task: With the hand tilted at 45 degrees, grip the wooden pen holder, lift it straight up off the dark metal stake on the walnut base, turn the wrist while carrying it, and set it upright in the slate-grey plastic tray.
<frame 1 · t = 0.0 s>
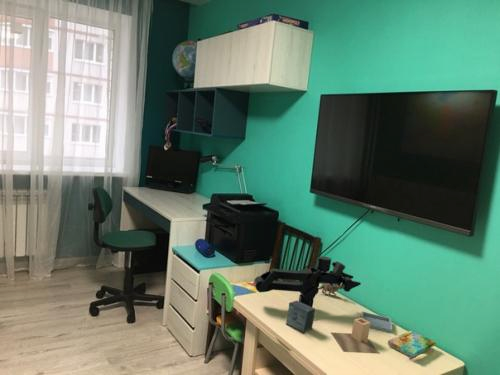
hand: (356, 280, 210), 17 cm above the table, tool horizontal, fingers open, 9 cm apart
small box: (298, 327, 185), on the table
wooden pen holder: (359, 338, 180), point 1 cm above the table, touching walnut stake base
dinosaur figurine: (328, 295, 231), on the table
grey tray: (375, 325, 198), on the table
walnut stake base: (353, 344, 175), on the table
puzzle game: (410, 350, 179), on the table
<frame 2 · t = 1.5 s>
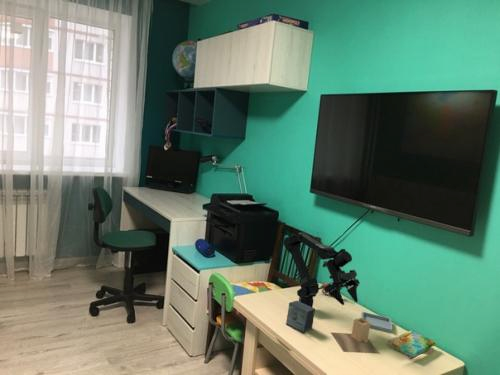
hand: (350, 303, 185), 14 cm above the table, tool tilted 45°, fingers open, 9 cm apart
nothing on the table moved.
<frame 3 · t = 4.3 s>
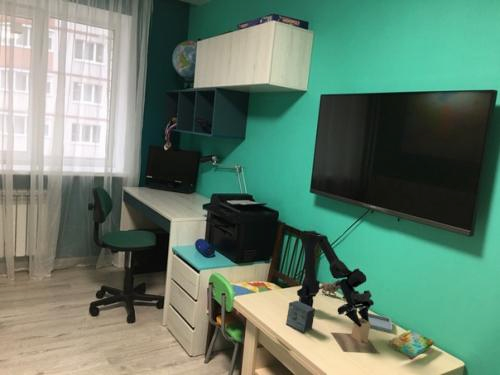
hand: (364, 325, 178), 8 cm above the table, tool tilted 45°, fingers closed on wooden pen holder, 5 cm apart
wooden pen holder: (359, 338, 180), point 1 cm above the table, touching gripper, walnut stake base
everything else where it was.
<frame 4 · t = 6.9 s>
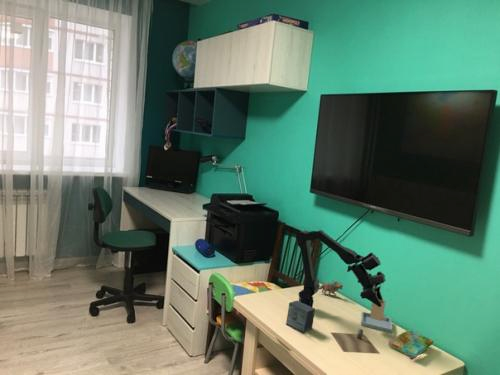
hand: (381, 304, 189), 13 cm above the table, tool tilted 45°, fingers closed on wooden pen holder, 5 cm apart
wooden pen holder: (376, 317, 190), point 7 cm above the table, touching gripper
everything else where it was.
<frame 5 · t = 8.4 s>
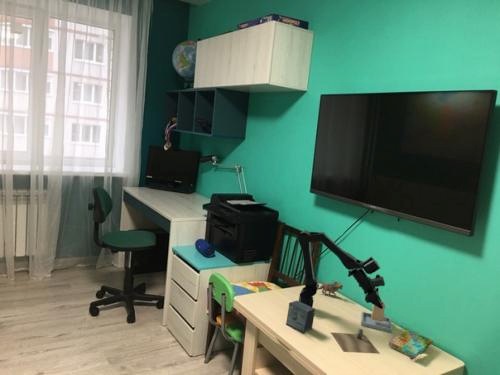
hand: (382, 306, 197), 10 cm above the table, tool tilted 45°, fingers closed on wooden pen holder, 5 cm apart
wooden pen holder: (376, 318, 198), point 3 cm above the table, touching gripper
everything else where it was.
when the fingers open (9 cm above the table, at t = 9.4 s): wooden pen holder drops 1 cm, resting on grey tray.
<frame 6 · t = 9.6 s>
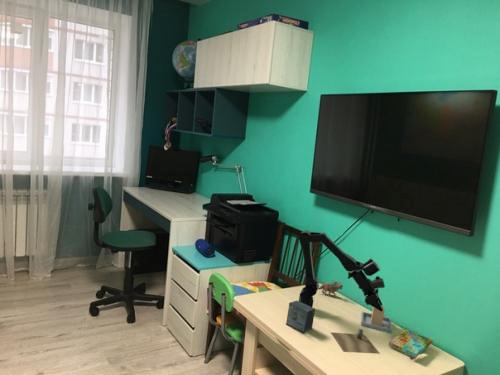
hand: (381, 308, 197), 9 cm above the table, tool tilted 45°, fingers open, 7 cm apart
wooden pen holder: (376, 323, 198), point 1 cm above the table, touching grey tray
everything else where it was.
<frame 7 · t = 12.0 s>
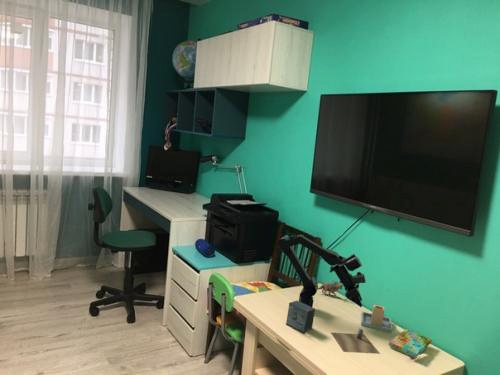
hand: (361, 303, 199), 9 cm above the table, tool tilted 40°, fingers open, 9 cm apart
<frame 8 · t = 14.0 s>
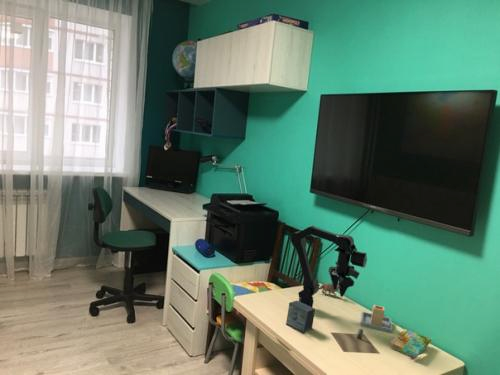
hand: (338, 292, 198), 13 cm above the table, tool pointing down, fingers open, 9 cm apart
at the end: wooden pen holder inside the target area on the grey tray (0.0 cm from its centre), point 1.0 cm above the grey tray's base; wooden pen holder tilted 0°; the gripper is holding nothing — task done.
